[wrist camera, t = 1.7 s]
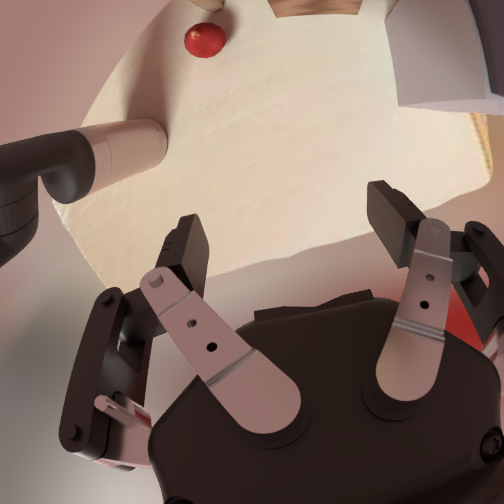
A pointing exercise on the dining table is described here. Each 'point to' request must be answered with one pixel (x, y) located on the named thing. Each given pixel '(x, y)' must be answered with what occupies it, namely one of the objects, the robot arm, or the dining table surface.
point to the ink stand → (448, 54)
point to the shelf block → (313, 7)
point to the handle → (209, 4)
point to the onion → (204, 40)
